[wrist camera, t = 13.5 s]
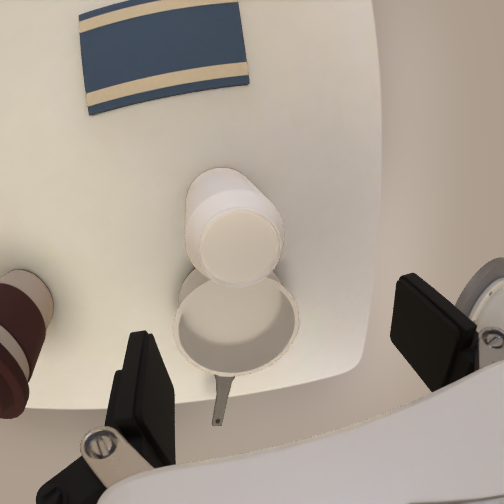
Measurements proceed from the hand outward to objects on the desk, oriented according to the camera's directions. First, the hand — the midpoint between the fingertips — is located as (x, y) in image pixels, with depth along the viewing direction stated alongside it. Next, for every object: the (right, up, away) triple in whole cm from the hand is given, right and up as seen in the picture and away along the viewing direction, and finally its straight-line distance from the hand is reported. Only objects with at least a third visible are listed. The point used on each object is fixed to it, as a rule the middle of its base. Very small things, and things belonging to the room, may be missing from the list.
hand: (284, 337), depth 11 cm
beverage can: (-4, +8, +18) cm, 20 cm away
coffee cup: (-26, -2, +18) cm, 31 cm away
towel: (-9, +21, +11) cm, 25 cm away
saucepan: (-4, -6, +24) cm, 25 cm away
